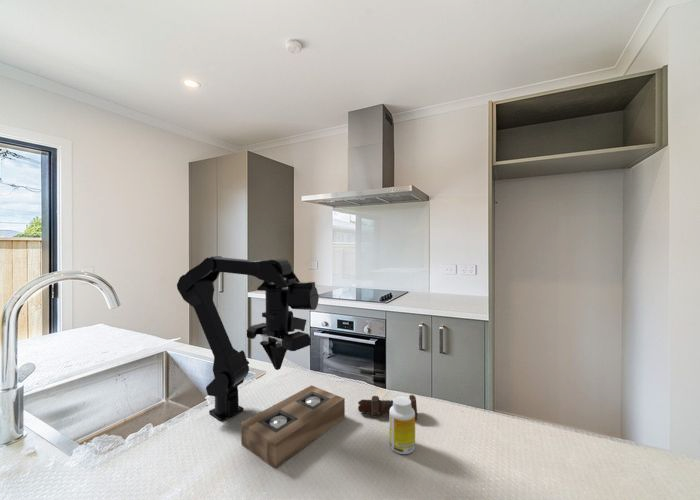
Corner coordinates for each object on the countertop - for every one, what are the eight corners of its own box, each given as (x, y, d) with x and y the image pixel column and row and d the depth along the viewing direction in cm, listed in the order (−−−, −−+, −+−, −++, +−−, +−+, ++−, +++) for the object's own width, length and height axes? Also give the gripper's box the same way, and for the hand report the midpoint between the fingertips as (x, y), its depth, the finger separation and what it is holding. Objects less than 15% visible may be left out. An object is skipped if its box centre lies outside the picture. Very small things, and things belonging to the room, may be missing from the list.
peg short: (302, 419, 75) (302, 401, 74) (312, 413, 78) (312, 394, 78) (313, 425, 72) (312, 405, 72) (323, 418, 75) (323, 399, 75)
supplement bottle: (420, 450, 63) (420, 403, 63) (399, 459, 61) (399, 410, 61) (404, 435, 68) (404, 392, 68) (384, 443, 66) (384, 397, 66)
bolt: (359, 418, 79) (416, 420, 77) (357, 418, 74) (417, 420, 72) (359, 394, 81) (414, 395, 79) (357, 392, 77) (415, 394, 75)
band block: (241, 444, 65) (241, 422, 65) (311, 402, 83) (311, 385, 83) (275, 469, 58) (275, 444, 58) (344, 417, 76) (344, 398, 76)
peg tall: (266, 442, 66) (266, 421, 66) (279, 434, 69) (279, 413, 69) (277, 449, 63) (276, 427, 63) (290, 440, 67) (290, 419, 66)
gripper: (325, 307, 75) (326, 367, 75) (278, 299, 87) (279, 352, 87) (292, 315, 66) (293, 383, 67) (245, 305, 78) (245, 364, 78)
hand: (277, 369), depth 75 cm, fingers closed
